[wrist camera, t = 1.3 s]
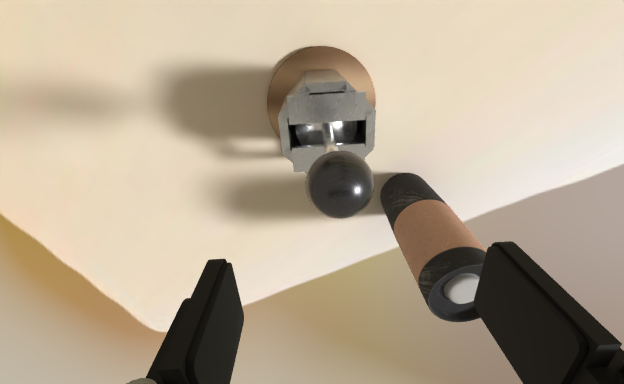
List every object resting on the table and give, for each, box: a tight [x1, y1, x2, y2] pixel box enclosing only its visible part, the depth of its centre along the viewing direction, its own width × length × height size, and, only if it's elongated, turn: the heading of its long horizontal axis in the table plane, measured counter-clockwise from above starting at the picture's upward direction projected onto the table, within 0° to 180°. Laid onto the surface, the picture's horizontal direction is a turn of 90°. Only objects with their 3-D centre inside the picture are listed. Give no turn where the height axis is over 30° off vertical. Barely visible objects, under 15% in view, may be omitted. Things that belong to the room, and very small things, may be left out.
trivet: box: [267, 46, 375, 139], centre depth 38 cm, size 14×14×1 cm
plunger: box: [296, 121, 374, 219], centre depth 22 cm, size 6×6×15 cm
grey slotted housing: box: [278, 69, 376, 173], centre depth 32 cm, size 12×9×13 cm
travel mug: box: [381, 173, 487, 322], centre depth 35 cm, size 8×8×20 cm
